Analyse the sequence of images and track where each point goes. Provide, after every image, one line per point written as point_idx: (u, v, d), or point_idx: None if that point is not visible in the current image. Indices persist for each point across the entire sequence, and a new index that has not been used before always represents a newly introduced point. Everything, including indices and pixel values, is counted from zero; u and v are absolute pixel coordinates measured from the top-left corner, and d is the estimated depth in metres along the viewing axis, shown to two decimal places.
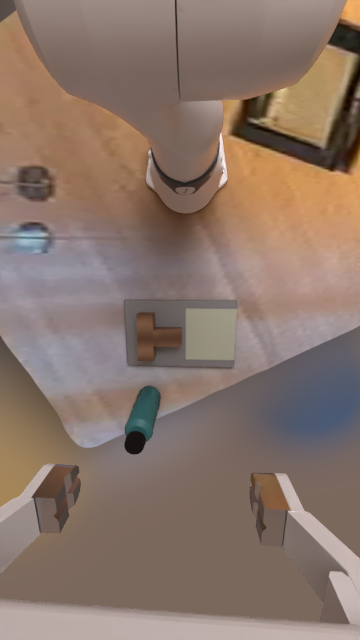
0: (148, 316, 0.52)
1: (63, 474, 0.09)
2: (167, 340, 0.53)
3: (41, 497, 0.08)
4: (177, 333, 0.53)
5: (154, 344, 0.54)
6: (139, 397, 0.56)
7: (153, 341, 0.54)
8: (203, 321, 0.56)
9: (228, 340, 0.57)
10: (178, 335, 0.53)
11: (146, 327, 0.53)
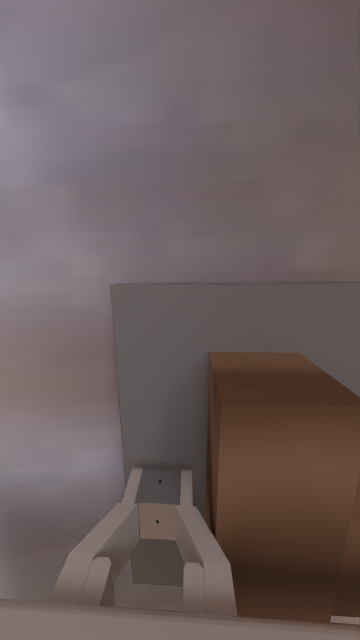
0: (333, 419, 0.06)
1: (156, 478, 0.09)
2: None
3: (144, 502, 0.08)
4: None
5: (342, 606, 0.07)
6: None
7: (339, 589, 0.07)
8: None
9: None
10: None
11: (302, 502, 0.06)
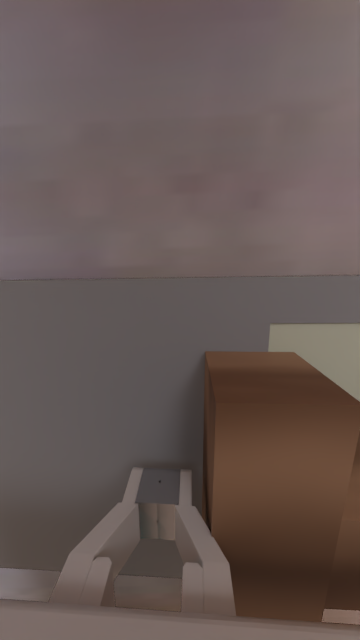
0: (325, 417, 0.06)
1: (156, 478, 0.09)
2: None
3: (144, 502, 0.08)
4: None
5: (335, 599, 0.07)
6: None
7: (331, 583, 0.07)
8: None
9: None
10: None
11: (295, 499, 0.07)
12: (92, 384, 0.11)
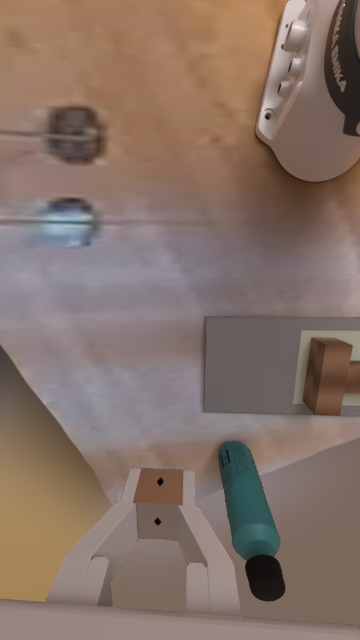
0: (346, 347, 0.33)
1: (154, 478, 0.09)
2: None
3: (142, 502, 0.08)
4: None
5: (346, 390, 0.34)
6: (231, 465, 0.36)
7: (346, 386, 0.34)
8: None
9: None
10: None
11: (339, 365, 0.33)
12: (250, 346, 0.37)
